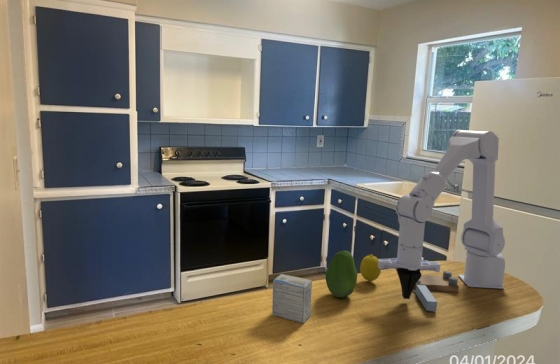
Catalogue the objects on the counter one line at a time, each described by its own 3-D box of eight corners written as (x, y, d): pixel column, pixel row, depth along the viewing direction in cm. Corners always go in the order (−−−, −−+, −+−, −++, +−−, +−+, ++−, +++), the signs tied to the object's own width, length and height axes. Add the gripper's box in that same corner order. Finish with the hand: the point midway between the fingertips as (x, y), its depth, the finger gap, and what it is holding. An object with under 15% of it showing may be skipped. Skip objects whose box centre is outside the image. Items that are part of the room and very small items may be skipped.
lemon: (378, 278, 114) (380, 251, 113) (380, 286, 109) (383, 258, 108) (358, 277, 115) (360, 250, 113) (360, 285, 109) (362, 257, 108)
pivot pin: (421, 289, 108) (422, 278, 107) (424, 294, 105) (425, 282, 105) (411, 289, 108) (412, 277, 107) (413, 293, 105) (415, 282, 105)
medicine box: (311, 315, 92) (312, 279, 90) (303, 324, 88) (305, 287, 86) (279, 308, 95) (280, 273, 94) (271, 316, 91) (272, 279, 90)
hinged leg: (414, 291, 106) (415, 283, 105) (423, 292, 105) (424, 283, 105) (426, 310, 95) (427, 301, 95) (436, 311, 95) (437, 301, 95)
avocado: (360, 294, 104) (363, 249, 102) (348, 305, 97) (351, 258, 95) (332, 286, 108) (334, 243, 106) (318, 297, 101) (321, 251, 99)
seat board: (449, 281, 114) (450, 271, 113) (458, 291, 107) (459, 280, 107) (406, 279, 115) (407, 269, 114) (412, 289, 108) (413, 278, 108)
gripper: (383, 248, 94) (379, 302, 96) (446, 251, 93) (441, 306, 95) (378, 239, 101) (374, 290, 103) (436, 242, 100) (431, 293, 102)
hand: (405, 297), depth 100 cm, fingers closed
